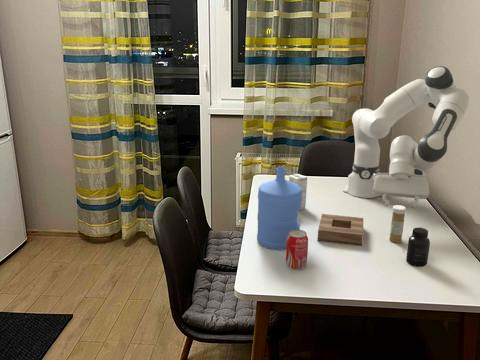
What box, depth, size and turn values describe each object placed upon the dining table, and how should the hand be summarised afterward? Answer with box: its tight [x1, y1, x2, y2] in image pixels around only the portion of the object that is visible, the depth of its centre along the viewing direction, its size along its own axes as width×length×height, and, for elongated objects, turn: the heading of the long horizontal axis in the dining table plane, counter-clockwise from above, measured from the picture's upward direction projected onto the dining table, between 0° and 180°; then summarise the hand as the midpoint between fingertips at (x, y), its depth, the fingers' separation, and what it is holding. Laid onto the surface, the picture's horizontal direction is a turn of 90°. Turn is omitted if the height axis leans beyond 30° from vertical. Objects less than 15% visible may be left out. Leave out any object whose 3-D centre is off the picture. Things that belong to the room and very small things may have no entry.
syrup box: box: [288, 173, 308, 211], centre depth 207 cm, size 6×6×14 cm
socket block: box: [316, 213, 364, 247], centre depth 183 cm, size 16×16×4 cm
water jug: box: [256, 167, 302, 251], centre depth 174 cm, size 16×16×28 cm
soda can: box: [285, 229, 309, 271], centre depth 158 cm, size 7×7×12 cm
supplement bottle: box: [405, 227, 431, 268], centre depth 161 cm, size 7×7×12 cm
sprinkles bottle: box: [389, 204, 407, 244], centre depth 177 cm, size 5×5×14 cm
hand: (400, 206), depth 181 cm, fingers open, 8 cm apart
